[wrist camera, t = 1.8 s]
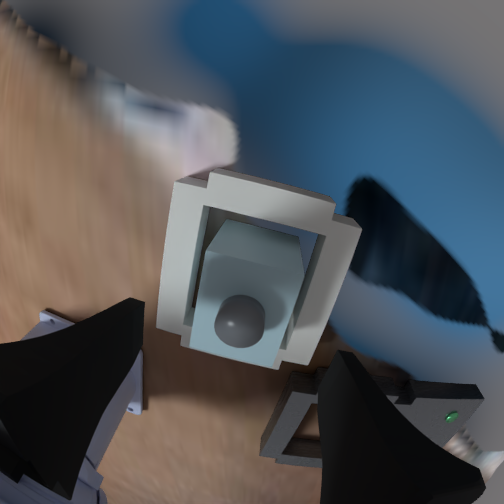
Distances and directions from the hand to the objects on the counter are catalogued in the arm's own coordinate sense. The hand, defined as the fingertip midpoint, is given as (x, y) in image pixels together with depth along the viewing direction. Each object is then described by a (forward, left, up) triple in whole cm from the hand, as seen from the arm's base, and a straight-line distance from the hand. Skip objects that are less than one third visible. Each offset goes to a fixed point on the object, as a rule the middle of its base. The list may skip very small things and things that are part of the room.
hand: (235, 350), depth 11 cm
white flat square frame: (0, 0, -7) cm, 7 cm away
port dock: (+13, -11, -7) cm, 19 cm away
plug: (0, 0, -8) cm, 8 cm away
